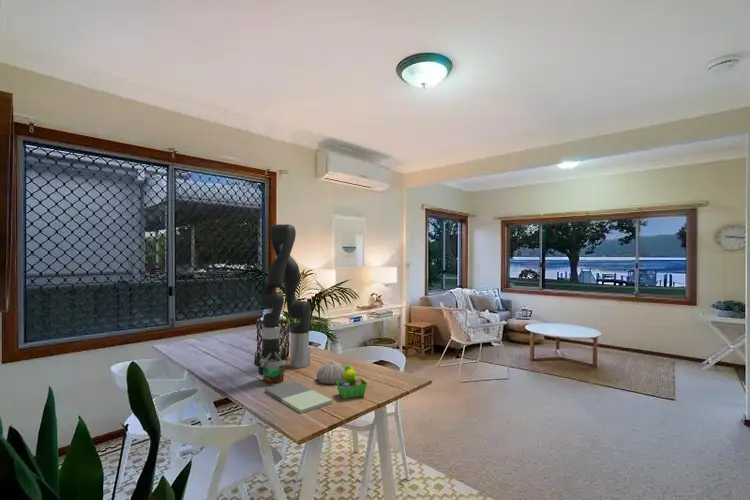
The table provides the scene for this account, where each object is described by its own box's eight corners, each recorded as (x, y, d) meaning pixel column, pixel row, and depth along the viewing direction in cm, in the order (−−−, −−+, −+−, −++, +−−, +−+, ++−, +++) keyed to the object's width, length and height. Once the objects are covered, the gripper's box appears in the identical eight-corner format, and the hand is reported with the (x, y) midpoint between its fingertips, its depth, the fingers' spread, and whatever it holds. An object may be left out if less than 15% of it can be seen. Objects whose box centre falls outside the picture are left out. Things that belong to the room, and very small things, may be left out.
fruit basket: (341, 400, 143) (341, 371, 143) (334, 392, 151) (334, 365, 151) (367, 396, 148) (368, 368, 148) (360, 389, 156) (360, 362, 156)
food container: (254, 382, 162) (254, 359, 162) (263, 378, 168) (264, 356, 168) (277, 386, 157) (277, 363, 158) (285, 382, 163) (286, 359, 163)
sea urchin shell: (346, 385, 160) (346, 367, 160) (315, 386, 159) (315, 367, 159) (346, 375, 173) (346, 358, 173) (317, 376, 172) (317, 359, 172)
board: (294, 383, 161) (294, 381, 161) (332, 403, 140) (332, 399, 141) (264, 391, 151) (264, 388, 151) (300, 413, 131) (300, 410, 131)
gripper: (281, 333, 171) (280, 368, 170) (252, 337, 161) (251, 374, 161) (289, 335, 165) (288, 371, 165) (259, 340, 155) (259, 378, 155)
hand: (270, 373), depth 163 cm, fingers open, 8 cm apart
